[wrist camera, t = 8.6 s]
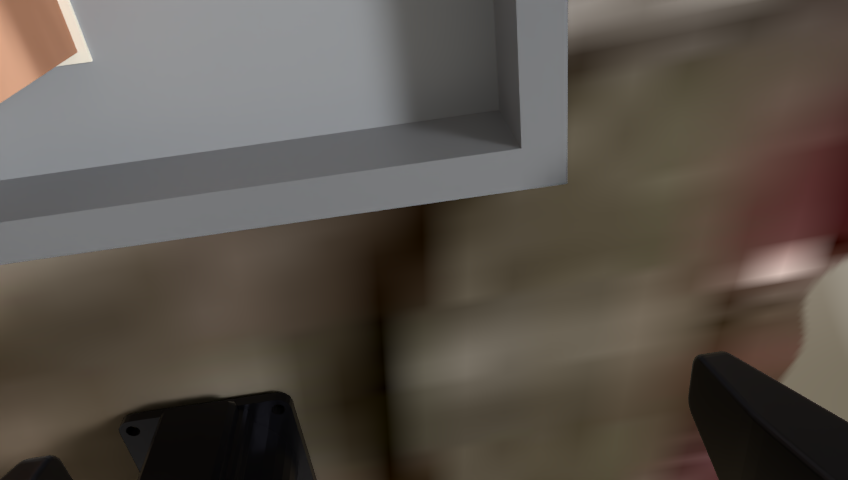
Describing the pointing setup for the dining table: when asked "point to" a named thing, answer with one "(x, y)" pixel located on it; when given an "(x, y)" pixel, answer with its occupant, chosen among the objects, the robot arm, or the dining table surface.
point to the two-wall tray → (277, 116)
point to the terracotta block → (31, 42)
